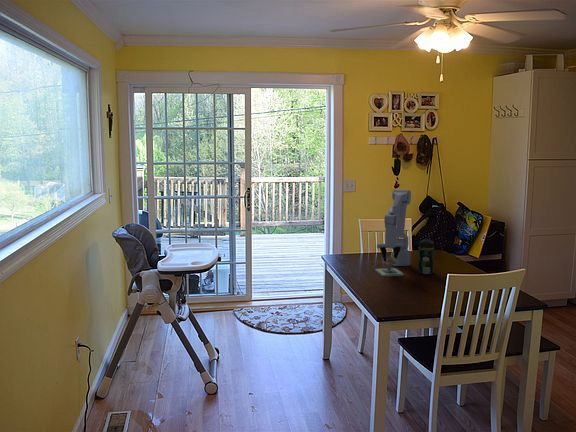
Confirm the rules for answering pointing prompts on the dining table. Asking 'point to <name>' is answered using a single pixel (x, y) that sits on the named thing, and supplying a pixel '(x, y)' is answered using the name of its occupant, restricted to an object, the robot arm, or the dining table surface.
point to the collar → (390, 260)
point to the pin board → (389, 271)
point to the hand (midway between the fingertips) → (389, 260)
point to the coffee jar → (426, 257)
